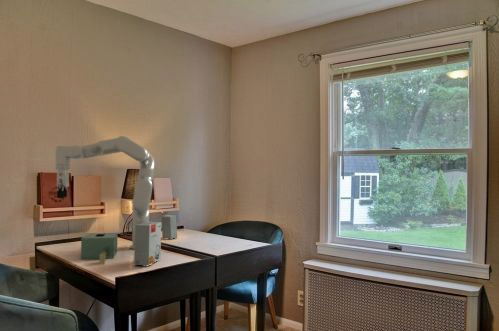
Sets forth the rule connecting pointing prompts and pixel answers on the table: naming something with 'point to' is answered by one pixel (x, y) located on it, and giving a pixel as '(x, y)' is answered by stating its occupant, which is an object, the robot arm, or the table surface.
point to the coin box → (98, 245)
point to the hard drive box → (147, 243)
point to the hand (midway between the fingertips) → (62, 197)
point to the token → (102, 258)
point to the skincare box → (169, 226)
